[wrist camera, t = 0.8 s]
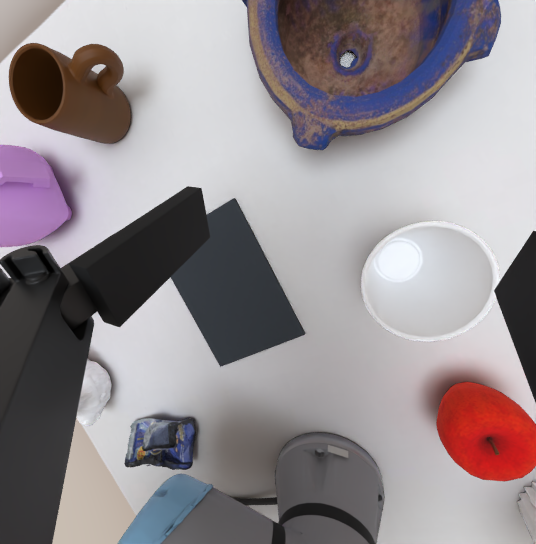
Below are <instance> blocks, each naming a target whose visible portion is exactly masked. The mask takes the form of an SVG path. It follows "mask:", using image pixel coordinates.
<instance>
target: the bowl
mask: <svg viewBox="0 0 536 544" xmlns="http://www.w3.org/2000/svg"><path fill="white" fill-rule="evenodd" d="M242 1H243V2H244V4H245V5H246V7H247V14H248V28H249V42H250V47H251V51H252V54H253V57H254V60H255V64H256V67H257V70H258V73H259V77H260V79H261V81H262V82H263V84H264V86H265V88H266V89H267V91H268V93H269V94H270V96H271V98H272V99H273V101H274V102H275V103H276V104H277V105H278V106H279V107H280V108H281V109H282V111H283V112H284V113H285V114H286V115H287V117H288V118H289V119H290V120H291V123H292V129H293V138H294V139H295V141H296V143H297V144H298V145H299V146H301V147H304V148H308V149H315V150H323V149H325V148H326V147H327V146H328V144H329V142H331V140H333V139H335V138H336V137H338V136H352V135H361V134H364V133H368V132H372V131H376V130H380V129H383V128H385V127H387V126H389V125H391V124H393V123H396V122H398V121H400V120H402V119H404V118H406V117H408V116H409V115H411V114H412V113H413V112H414V111H416V110H417V109H418V108H420V107H421V106H422V105H424V104H425V103H426V102H428V101H429V100H430V99H432V98H433V97H434V95H435V94H436V93H437V92H438V91H439V90H440V89H441V88H442V86H443V85H444V84H445V83H446V82H447V81H448V80H449V79H450V78H451V76H452V75H453V74H454V73H455V72H456V71H457V70H458V69H459V68H460V67H461V66H462V65H463V64H464V63H465V62H469V61H473V60H477V59H482V58H484V57H487V56H489V54H490V51H491V49H492V47H493V45H494V42H495V40H496V37H497V34H498V30H499V27H500V24H501V12H500V6H499V2H498V0H242ZM346 50H350V51H352V52H353V53H354V55H355V56H357V58H355V59H354V60H353V61H352V63H351V67H348V68H347V67H343V66H341V65H340V57H341V55H342V54H343V53H345V51H346Z"/></svg>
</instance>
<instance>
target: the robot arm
mask: <svg viewBox="0 0 536 544" xmlns="http://www.w3.org/2000/svg"><path fill="white" fill-rule="evenodd" d="M209 238H210V232H209V226H208V221H207V216H206V210H205V205H204V200H203V194H202V189H201V188H196V187H186V188H185V189H183V190H182V191H180V192H179V193H177V194H175V195H174V196H172V197H171V198H169V199H168V200H166V201H165V202H163V203H162V204H160V205H158V206H157V207H155V208H154V209H152V210H151V211H149V212H148V213H146V214H145V215H143V216H142V217H140V218H138V219H137V220H135V221H134V222H132V223H131V224H129V225H128V226H126V227H125V228H123V229H122V230H120V231H118V232H117V233H115V234H113V235H112V236H110V237H108V238H107V239H105V240H104V241H103V242H101V243H99V244H98V245H96V246H95V247H94V248H92V249H90V250H88V251H87V252H85V253H84V254H82V255H81V256H79V257H78V258H76V259H75V260H73V261H71V262H70V263H68V264H67V265H65V266H64V267H62V268H60V267H59V265H58V264H57V262H56V261H55V259H54V258H53V256H52V255H51V253H50V251H49V250H48V248H46V247H45V246H40V245H36V246H28V247H24V248H20V249H18V250H15V251H13V252H11V253H9V254H7V255H6V256H4V257H3V258H2V259H1V260H0V264H1V265H2V267H3V268H4V269H5V270H6V272H7V273H8V274H9V275H10V277H11V278H8V277H7V275H6V274H5V273H4V272H3V270H2V269H1V268H0V544H52V540H53V536H54V530H55V525H56V520H57V515H58V510H59V505H60V499H61V494H62V489H63V484H64V478H65V473H66V468H67V463H68V458H69V452H70V447H71V442H72V437H73V431H74V426H75V420H76V416H77V410H78V405H79V400H80V395H81V390H82V384H83V379H84V374H85V369H86V363H87V358H88V353H89V348H90V343H91V337H92V332H93V327H94V320H93V319H92V317H91V316H92V315H93V314H94V313H95V312H97V311H98V313H99V315H100V316H101V318H102V320H103V321H104V322H106V323H109V324H112V325H114V326H117V327H120V326H121V325H122V324H123V323H124V322H125V321H126V320H127V319H128V318H129V317H130V316H131V315H132V314H133V313H135V312H136V311H137V310H138V309H139V308H140V307H141V306H142V305H143V304H144V303H145V302H146V301H147V300H148V299H149V298H150V297H151V296H152V295H153V294H154V293H155V292H156V291H157V290H158V289H159V288H160V287H161V286H162V285H163V284H164V283H165V282H166V281H167V280H168V279H169V278H170V277H171V276H172V275H173V274H174V273H175V272H176V271H177V270H178V269H179V268H180V267H181V266H182V265H183V264H184V263H185V262H186V261H187V260H188V259H189V258H190V257H191V256H192V255H193V254H194V253H195V252H196V251H197V250H198V249H199V248H200V247H201V246H202V245H203V244H204V243H205V242H206V241H207V240H208V239H209ZM494 292H495V295H496V298H497V300H498V303H499V306H500V308H501V311H502V314H503V316H504V319H505V322H506V324H507V327H508V330H509V332H510V335H511V338H512V340H513V343H514V346H515V348H516V351H517V354H518V356H519V359H520V362H521V365H522V367H523V370H524V373H525V375H526V378H527V381H528V383H529V386H530V389H531V391H532V394H533V397H534V399H535V402H536V231H533V232H532V234H531V235H530V237H529V238H528V240H527V241H526V243H525V244H524V246H523V247H522V249H521V250H520V252H519V253H518V255H517V256H516V258H515V260H514V261H513V263H512V264H511V266H510V267H509V269H508V270H507V272H506V273H505V275H504V276H503V278H502V279H501V281H500V282H499V284H498V285H497V287H496V288H495V290H494ZM275 484H276V491H277V497H275V498H252V499H238V498H231V497H229V496H228V495H226V494H224V493H222V492H220V491H219V490H217V489H215V488H213V485H212V484H208V485H207V484H205V483H203V482H201V481H199V480H197V479H195V478H193V477H191V476H188V475H186V474H177V475H174V476H172V477H171V478H169V479H168V480H167V481H165V482H164V483H163V484H162V485H161V486H160V487H159V488H158V490H157V491H156V492H155V493H154V494H153V495H152V497H151V498H150V499H149V500H148V502H147V503H146V504H145V506H144V507H143V508H142V509H141V511H140V512H139V513H138V515H137V516H136V518H135V519H134V521H133V522H132V523H131V525H130V526H129V527H128V529H127V530H126V532H125V533H124V535H123V536H122V538H121V539H120V540H119V542H118V544H376V543H377V537H378V532H379V527H380V521H381V516H382V510H383V505H384V489H383V483H382V478H381V474H380V471H379V469H378V467H377V465H376V463H375V462H374V460H373V459H372V458H371V457H370V456H369V454H368V453H367V452H366V451H364V450H363V449H362V448H361V447H359V446H358V445H357V444H355V443H353V442H351V441H349V440H347V439H345V438H343V437H340V436H337V435H333V434H328V433H309V434H304V435H301V436H298V437H296V438H294V439H292V440H291V441H290V442H288V443H287V444H286V445H285V446H284V448H283V449H282V451H281V452H280V455H279V458H278V462H277V466H276V470H275ZM275 504H278V515H279V523H276V522H274V521H272V520H271V519H269V518H267V517H265V516H264V515H262V514H260V513H258V512H256V511H255V510H253V509H251V508H249V507H247V506H246V505H275Z"/></svg>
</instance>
